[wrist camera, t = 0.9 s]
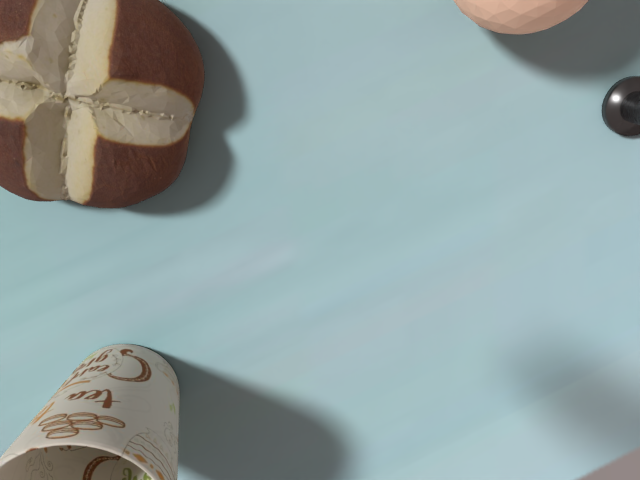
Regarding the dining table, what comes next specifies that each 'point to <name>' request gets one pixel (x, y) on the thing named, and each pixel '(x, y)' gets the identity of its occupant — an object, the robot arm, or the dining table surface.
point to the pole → (623, 107)
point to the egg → (519, 14)
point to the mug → (104, 423)
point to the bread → (95, 99)
